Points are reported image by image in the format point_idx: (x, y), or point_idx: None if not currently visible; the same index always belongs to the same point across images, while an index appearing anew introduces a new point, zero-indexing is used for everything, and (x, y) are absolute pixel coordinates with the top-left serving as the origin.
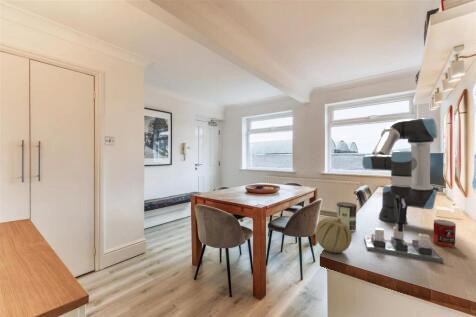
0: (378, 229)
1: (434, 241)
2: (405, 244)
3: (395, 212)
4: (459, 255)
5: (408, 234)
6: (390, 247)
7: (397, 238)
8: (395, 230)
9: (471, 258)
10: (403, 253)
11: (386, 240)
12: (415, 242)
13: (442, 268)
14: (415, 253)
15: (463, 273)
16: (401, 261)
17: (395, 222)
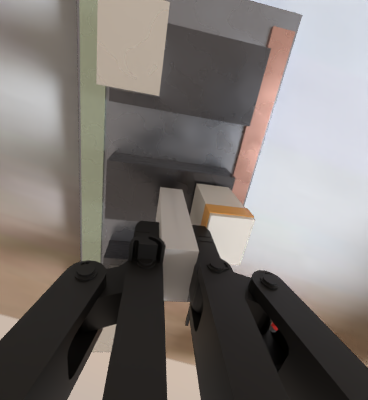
0: (101, 19)
1: (275, 327)
2: (118, 211)
3: (322, 370)
4: (182, 343)
5: (361, 276)
6: (134, 134)
7: (193, 199)
8: (204, 211)
9: (168, 358)
10: (80, 175)
11: (240, 149)
12: None
13: (29, 268)
14: (91, 226)
15: (23, 307)
16: (7, 138)
17: (137, 243)
